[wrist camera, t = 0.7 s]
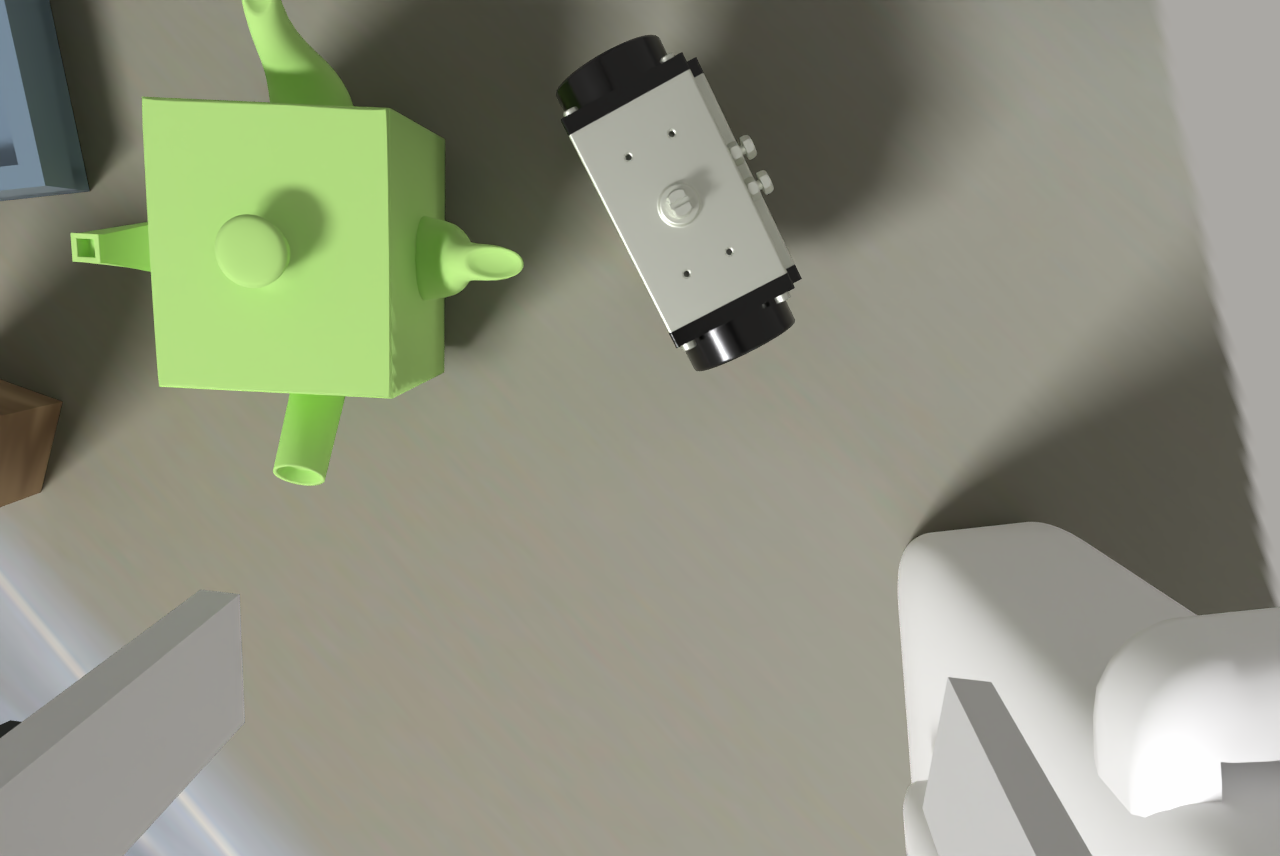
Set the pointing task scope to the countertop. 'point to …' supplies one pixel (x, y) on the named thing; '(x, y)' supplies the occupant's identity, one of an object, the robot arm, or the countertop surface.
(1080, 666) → the toaster
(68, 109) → the tray
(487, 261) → the kettle
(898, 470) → the countertop surface
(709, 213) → the pneumatic valve
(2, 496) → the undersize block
